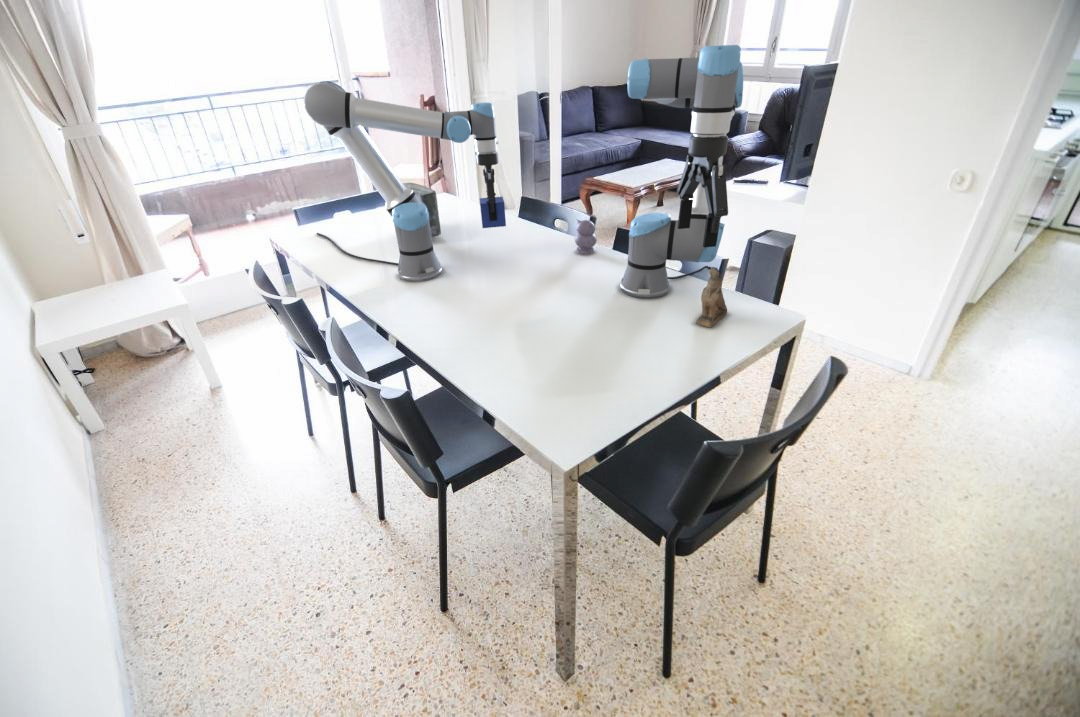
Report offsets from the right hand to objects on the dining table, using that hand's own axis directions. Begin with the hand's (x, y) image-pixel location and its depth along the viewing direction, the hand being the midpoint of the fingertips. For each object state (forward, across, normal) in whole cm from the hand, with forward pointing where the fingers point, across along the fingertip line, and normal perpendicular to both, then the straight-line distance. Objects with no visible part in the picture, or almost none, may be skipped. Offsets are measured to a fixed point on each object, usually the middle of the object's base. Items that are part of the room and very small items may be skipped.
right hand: (695, 237), depth 112 cm
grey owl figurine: (+29, +75, +7) cm, 81 cm away
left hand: (+15, +84, +40) cm, 94 cm away
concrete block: (+29, +113, +69) cm, 135 cm away
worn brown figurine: (+29, +13, -14) cm, 35 cm away
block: (+18, +84, +40) cm, 94 cm away
